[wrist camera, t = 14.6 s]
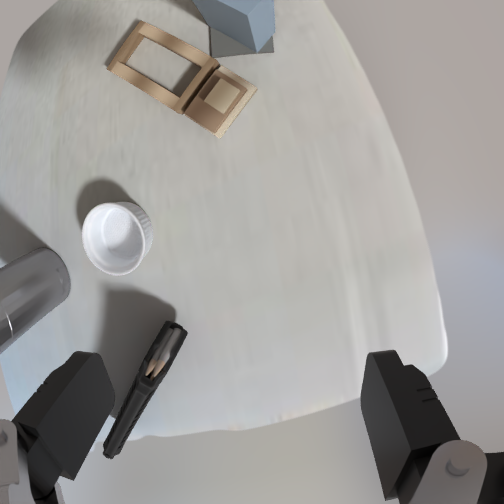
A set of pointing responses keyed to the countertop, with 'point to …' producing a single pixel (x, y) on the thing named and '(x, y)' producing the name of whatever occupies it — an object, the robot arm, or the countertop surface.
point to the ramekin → (117, 236)
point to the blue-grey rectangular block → (240, 19)
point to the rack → (208, 98)
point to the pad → (233, 46)
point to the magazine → (145, 385)
